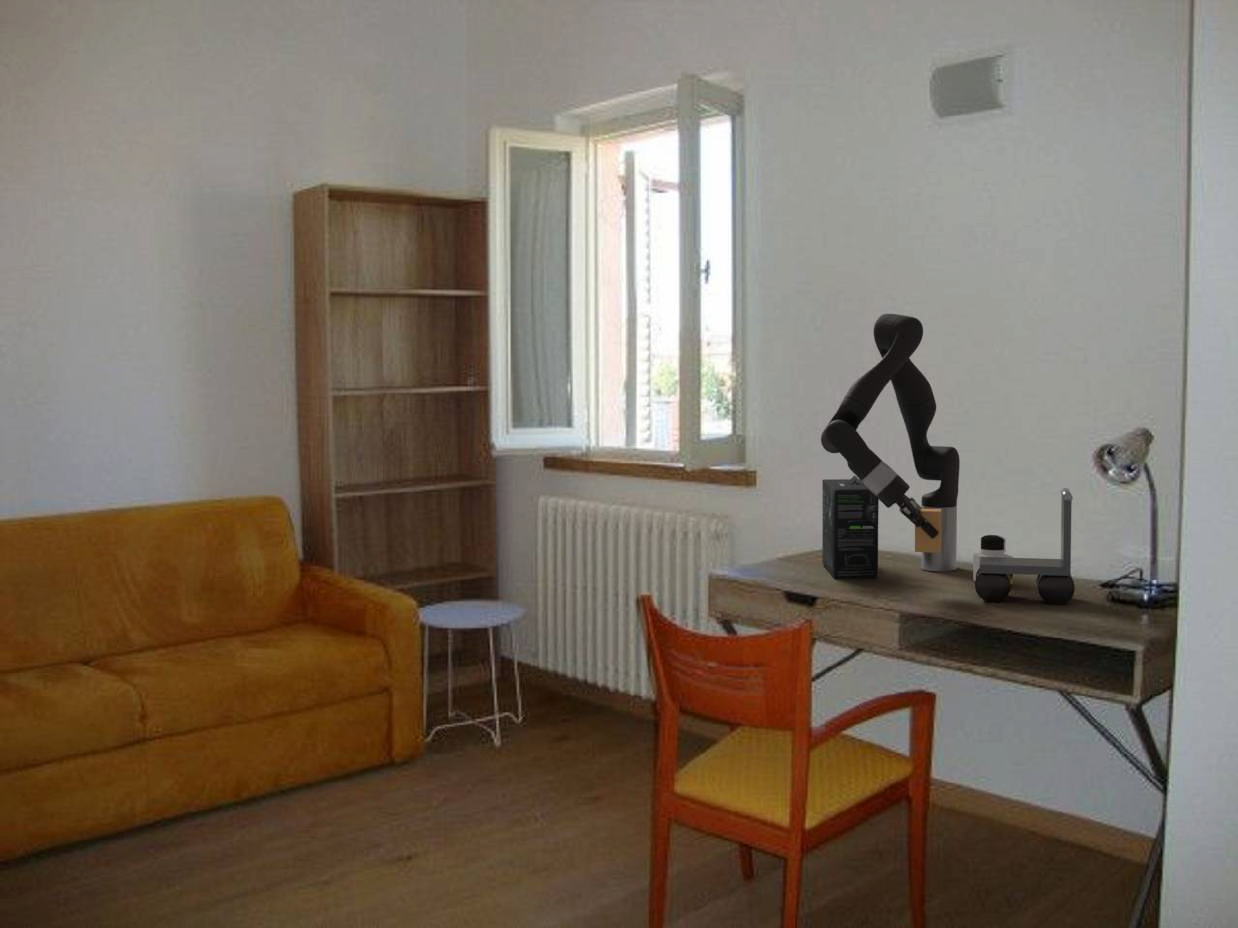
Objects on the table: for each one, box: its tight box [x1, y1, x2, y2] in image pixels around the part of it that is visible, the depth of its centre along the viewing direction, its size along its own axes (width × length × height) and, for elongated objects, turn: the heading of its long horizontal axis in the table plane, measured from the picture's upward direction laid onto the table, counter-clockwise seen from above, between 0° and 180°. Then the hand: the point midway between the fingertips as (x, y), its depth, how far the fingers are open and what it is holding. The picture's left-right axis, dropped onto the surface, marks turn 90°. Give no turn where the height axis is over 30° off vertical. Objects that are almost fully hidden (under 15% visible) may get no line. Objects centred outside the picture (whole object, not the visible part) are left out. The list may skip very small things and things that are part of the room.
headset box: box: [821, 475, 880, 580], centre depth 330 cm, size 22×12×26 cm, turn 179°
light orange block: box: [914, 509, 941, 553], centre depth 298 cm, size 4×6×10 cm
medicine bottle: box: [972, 534, 1014, 585], centre depth 311 cm, size 7×7×12 cm
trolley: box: [974, 487, 1076, 606], centre depth 289 cm, size 12×22×26 cm, turn 73°
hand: (936, 534), depth 297 cm, fingers closed on light orange block, 4 cm apart
